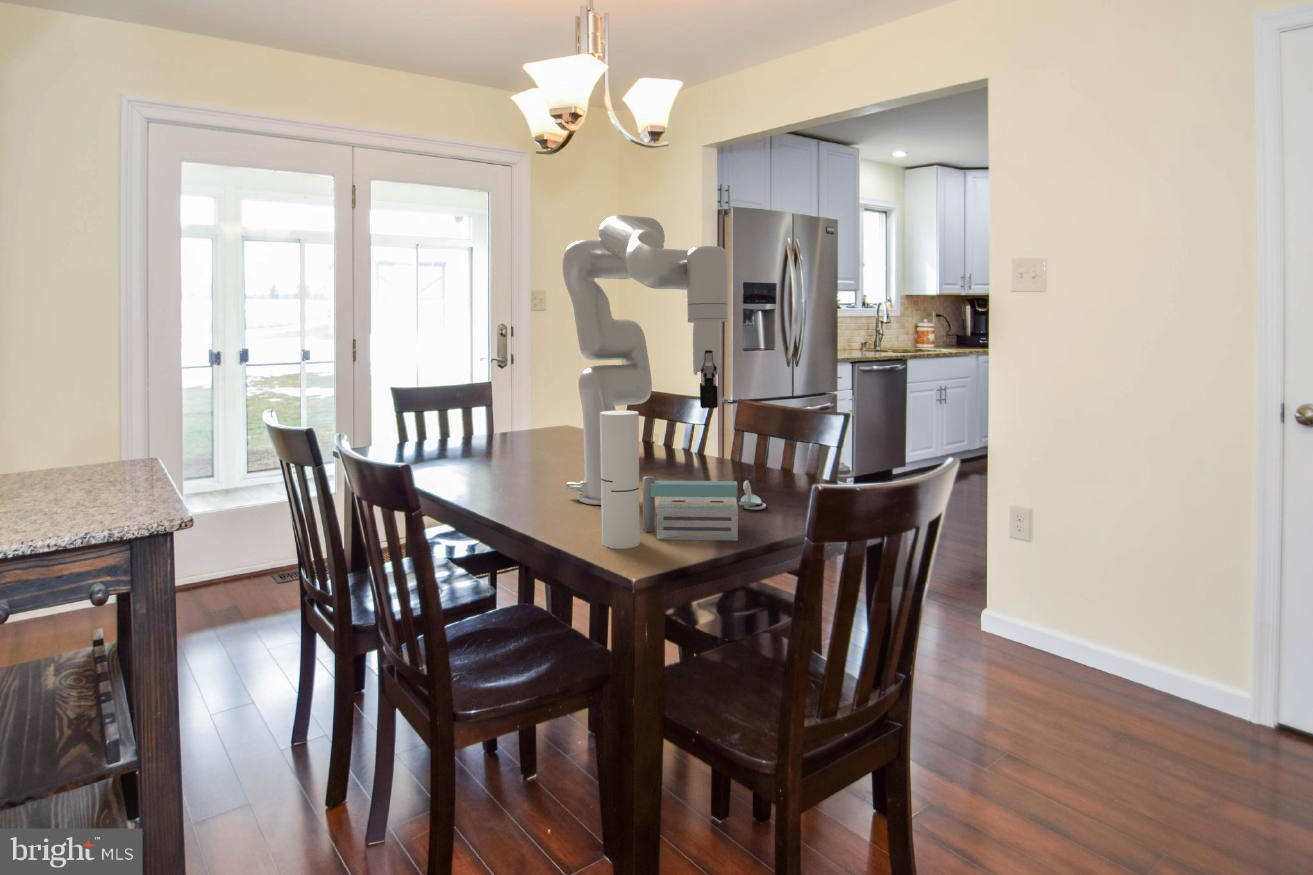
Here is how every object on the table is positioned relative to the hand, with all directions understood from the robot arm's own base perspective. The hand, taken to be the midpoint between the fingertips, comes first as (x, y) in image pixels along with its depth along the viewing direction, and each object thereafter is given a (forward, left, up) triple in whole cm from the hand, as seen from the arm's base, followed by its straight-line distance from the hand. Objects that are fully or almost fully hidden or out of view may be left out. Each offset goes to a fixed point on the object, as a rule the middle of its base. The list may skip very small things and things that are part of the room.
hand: (708, 405), depth 152 cm
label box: (-2, +4, -26) cm, 26 cm away
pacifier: (+10, +26, -26) cm, 38 cm away
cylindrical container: (-17, -5, -26) cm, 31 cm away
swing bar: (-4, +4, -25) cm, 26 cm away
